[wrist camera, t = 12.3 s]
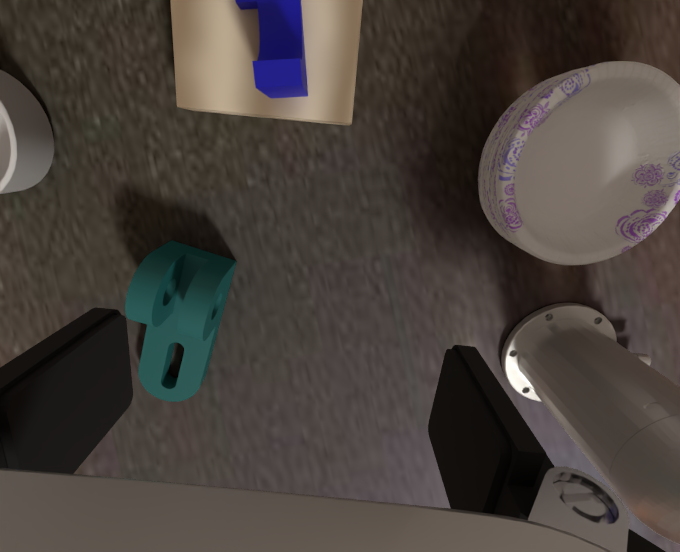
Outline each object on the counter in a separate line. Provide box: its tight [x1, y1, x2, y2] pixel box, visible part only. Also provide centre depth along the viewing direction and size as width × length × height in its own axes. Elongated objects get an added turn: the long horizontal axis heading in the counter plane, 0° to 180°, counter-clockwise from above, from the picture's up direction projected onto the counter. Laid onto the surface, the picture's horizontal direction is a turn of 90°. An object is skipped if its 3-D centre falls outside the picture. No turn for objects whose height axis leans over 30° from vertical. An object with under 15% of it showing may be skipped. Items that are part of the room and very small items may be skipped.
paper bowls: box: [478, 61, 680, 265], centre depth 31 cm, size 15×15×8 cm
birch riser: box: [171, 0, 363, 126], centre depth 29 cm, size 14×14×4 cm
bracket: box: [125, 240, 237, 402], centre depth 37 cm, size 18×7×8 cm, turn 160°
